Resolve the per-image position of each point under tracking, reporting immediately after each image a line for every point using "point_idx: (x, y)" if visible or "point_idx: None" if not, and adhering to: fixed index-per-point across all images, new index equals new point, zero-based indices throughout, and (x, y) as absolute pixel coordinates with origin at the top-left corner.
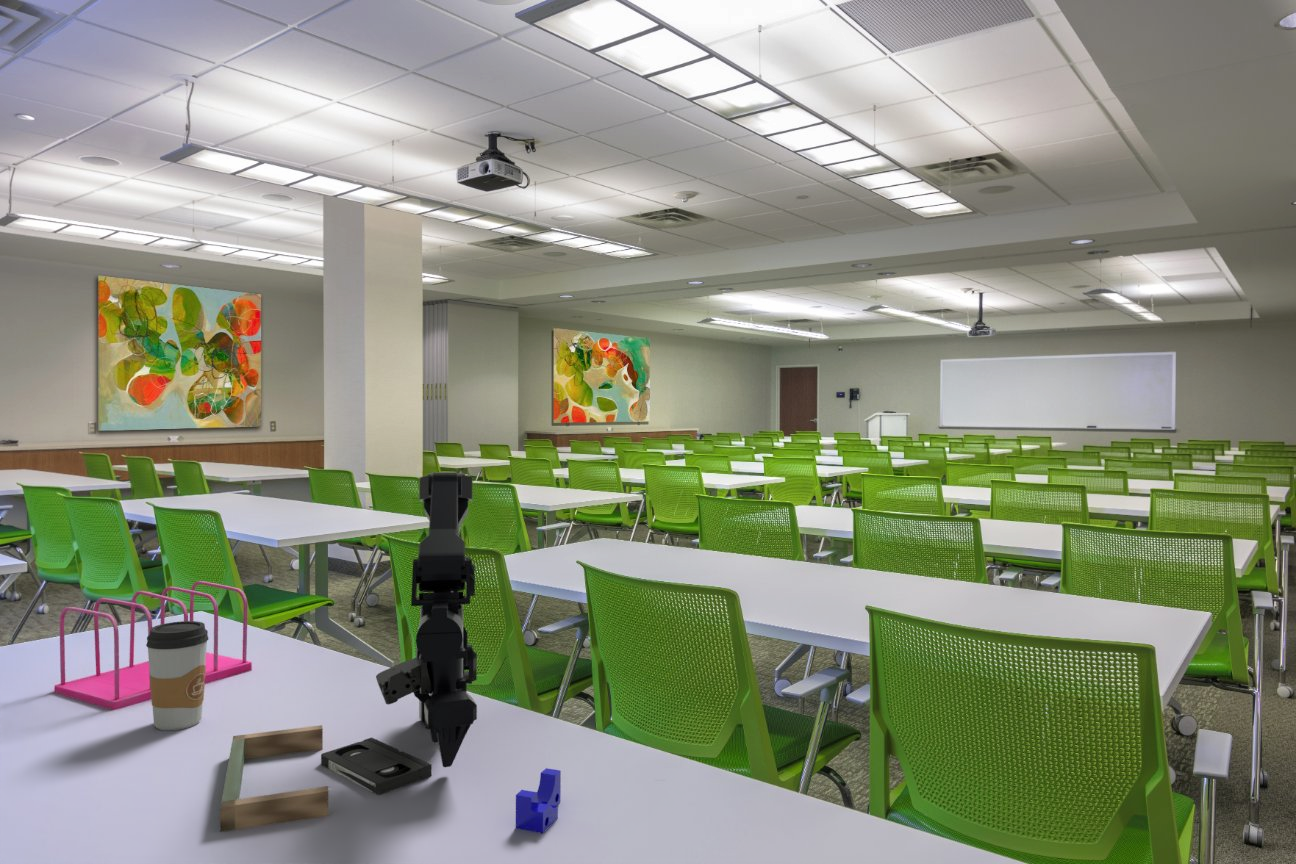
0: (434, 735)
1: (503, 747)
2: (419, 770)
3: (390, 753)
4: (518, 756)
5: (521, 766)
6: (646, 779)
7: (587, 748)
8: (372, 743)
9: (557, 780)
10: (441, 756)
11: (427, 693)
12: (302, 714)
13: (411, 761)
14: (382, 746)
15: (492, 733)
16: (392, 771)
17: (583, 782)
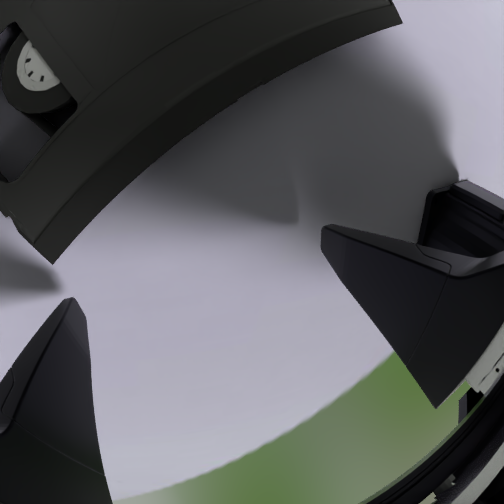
0: (335, 243)
1: (259, 375)
2: (14, 217)
3: (228, 45)
4: (201, 404)
5: (146, 414)
6: (118, 478)
7: (219, 449)
8: (360, 6)
9: None
10: (39, 329)
11: (499, 324)
12: (492, 6)
13: (92, 162)
14: (321, 25)
15: (343, 336)
16: (24, 90)
17: None
